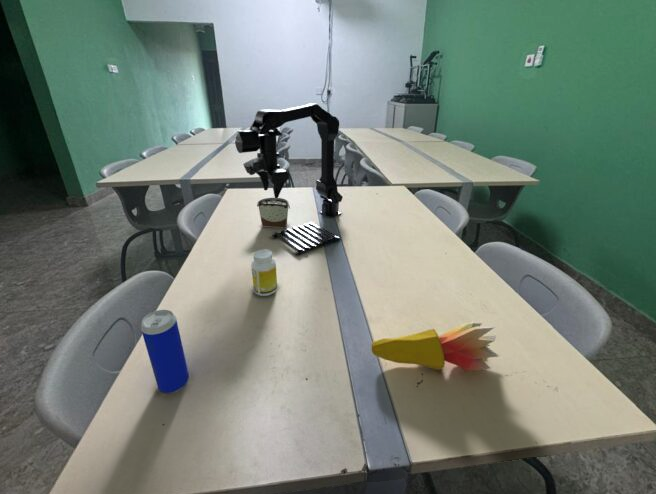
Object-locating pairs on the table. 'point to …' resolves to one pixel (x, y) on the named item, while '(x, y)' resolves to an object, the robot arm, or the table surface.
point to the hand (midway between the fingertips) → (270, 193)
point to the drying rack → (305, 247)
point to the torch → (440, 348)
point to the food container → (273, 212)
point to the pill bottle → (264, 273)
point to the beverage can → (165, 350)
